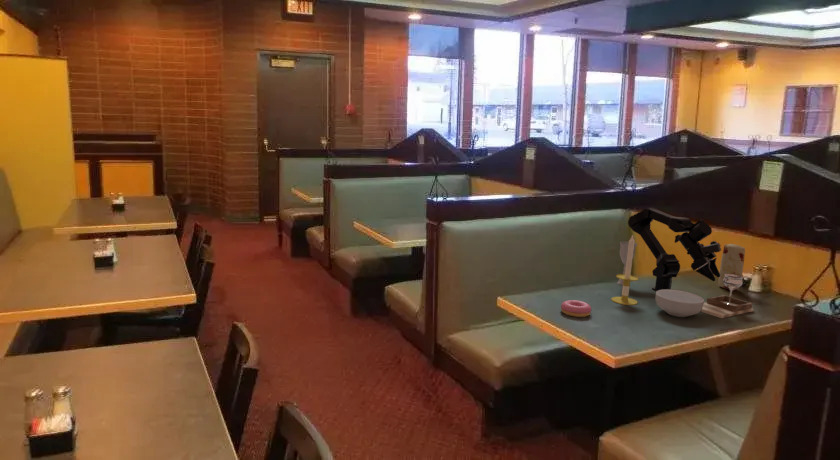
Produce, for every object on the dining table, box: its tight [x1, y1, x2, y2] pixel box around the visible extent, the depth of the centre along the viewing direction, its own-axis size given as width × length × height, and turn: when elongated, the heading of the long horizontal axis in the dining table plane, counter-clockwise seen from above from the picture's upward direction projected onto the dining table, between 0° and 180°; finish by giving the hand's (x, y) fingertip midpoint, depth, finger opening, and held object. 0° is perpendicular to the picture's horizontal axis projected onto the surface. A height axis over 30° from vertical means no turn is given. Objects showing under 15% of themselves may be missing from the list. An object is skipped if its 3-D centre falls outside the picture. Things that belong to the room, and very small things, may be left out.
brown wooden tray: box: [700, 294, 754, 319], centre depth 245 cm, size 21×13×3 cm, turn 123°
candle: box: [610, 234, 639, 306], centre depth 246 cm, size 10×10×27 cm
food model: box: [717, 243, 746, 292], centre depth 275 cm, size 10×7×20 cm
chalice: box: [617, 241, 638, 286], centre depth 273 cm, size 7×7×18 cm
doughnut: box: [560, 299, 592, 318], centre depth 230 cm, size 11×11×4 cm
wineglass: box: [723, 274, 744, 306], centre depth 247 cm, size 7×7×12 cm
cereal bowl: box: [655, 289, 705, 318], centre depth 236 cm, size 17×17×7 cm
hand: (717, 278), depth 249 cm, fingers open, 9 cm apart
